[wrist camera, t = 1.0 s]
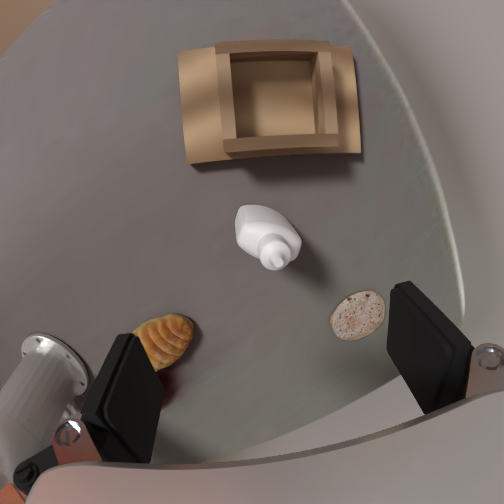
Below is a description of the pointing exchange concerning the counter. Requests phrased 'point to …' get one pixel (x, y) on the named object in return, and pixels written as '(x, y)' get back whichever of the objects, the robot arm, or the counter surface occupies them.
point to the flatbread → (358, 315)
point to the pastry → (165, 338)
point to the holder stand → (268, 100)
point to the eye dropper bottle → (267, 236)
